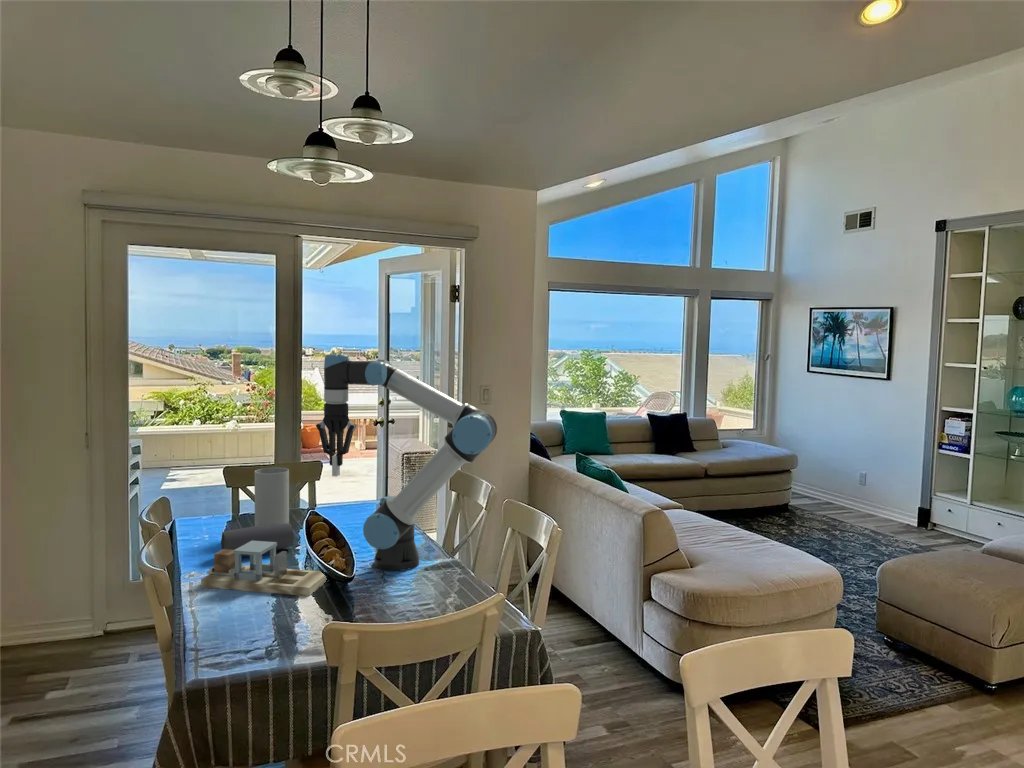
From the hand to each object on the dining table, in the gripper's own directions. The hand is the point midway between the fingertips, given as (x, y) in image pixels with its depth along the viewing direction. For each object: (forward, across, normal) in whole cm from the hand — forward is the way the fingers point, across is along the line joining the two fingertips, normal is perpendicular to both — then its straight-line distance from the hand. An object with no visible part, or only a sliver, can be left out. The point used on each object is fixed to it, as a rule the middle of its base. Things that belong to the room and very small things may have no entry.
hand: (336, 475), depth 216 cm
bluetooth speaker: (+33, +35, -14) cm, 50 cm away
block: (+29, +31, +12) cm, 44 cm away
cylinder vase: (+33, +42, -37) cm, 65 cm away
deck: (+32, +18, +12) cm, 39 cm away
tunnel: (+30, +21, +12) cm, 38 cm away
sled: (+30, +24, +12) cm, 40 cm away
